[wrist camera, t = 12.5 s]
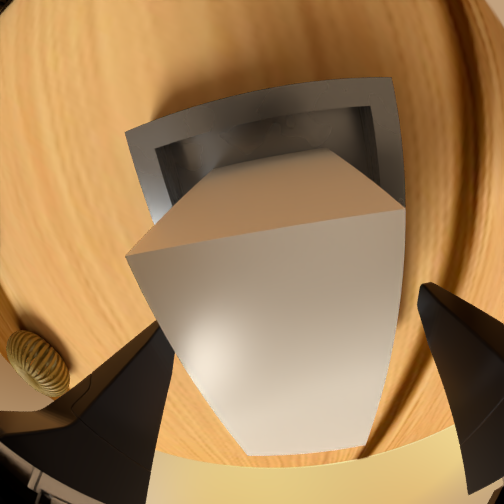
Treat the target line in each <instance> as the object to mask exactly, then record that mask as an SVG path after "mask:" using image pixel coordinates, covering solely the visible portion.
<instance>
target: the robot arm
mask: <svg viewBox="0 0 504 504" xmlns="http://www.w3.org/2000/svg"><path fill="white" fill-rule="evenodd" d="M11 1H12V0H0V14H1V12H2V11H3V10H4V9H5V8H6V7H7V6H8V5H9V4H10V3H11ZM417 307H418V311H419V315H420V318H421V321H422V324H423V328H424V331H425V334H426V338H427V341H428V345H429V347H430V350H431V353H432V355H433V358H434V361H435V363H436V366H437V369H438V372H439V374H440V377H441V380H442V383H443V386H444V389H445V392H446V395H447V399H448V402H449V405H450V409H451V412H452V416H453V419H454V423H455V427H456V431H457V435H458V439H459V444H460V449H461V454H462V459H463V464H464V469H465V475H466V483H467V490H468V494H469V495H470V494H472V493H474V492H476V491H478V490H480V489H482V488H484V487H486V486H488V485H490V484H492V483H494V482H495V481H497V480H499V479H500V478H503V484H504V324H503V323H502V322H500V321H498V320H497V319H495V318H493V317H492V316H490V315H488V314H487V313H485V312H483V311H482V310H480V309H478V308H477V307H475V306H473V305H472V304H470V303H468V302H466V301H465V300H463V299H461V298H459V297H458V296H456V295H454V294H452V293H451V292H449V291H447V290H445V289H443V288H441V287H440V286H438V285H436V284H434V283H432V282H429V283H424V284H422V285H421V286H420V290H419V296H418V302H417ZM174 354H175V351H174V350H173V348H172V346H171V345H170V343H169V341H168V339H167V338H166V336H165V334H164V332H163V331H162V329H161V327H160V325H159V323H158V322H157V320H156V321H154V322H153V323H152V324H151V325H150V326H148V327H147V328H146V329H145V330H143V331H142V332H141V333H140V334H138V335H137V336H136V337H135V338H134V339H132V340H131V341H130V342H129V343H127V344H126V345H125V346H124V347H123V348H121V349H120V350H119V351H118V352H116V353H115V354H114V355H113V356H112V357H110V358H109V359H108V360H107V361H105V362H104V363H103V364H102V365H101V366H99V367H98V368H97V369H96V370H94V371H93V372H92V374H90V375H88V376H87V377H86V378H85V379H84V380H82V381H81V382H80V383H78V384H77V385H76V386H75V387H73V388H72V389H71V390H69V391H68V392H66V393H65V394H64V395H62V396H61V397H59V398H58V399H56V400H55V401H54V402H52V403H51V404H49V405H48V406H47V407H45V408H43V409H41V410H38V411H32V412H18V411H0V504H145V503H146V497H147V491H148V485H149V480H150V475H151V468H152V462H153V458H154V453H155V448H156V443H157V438H158V433H159V429H160V424H161V419H162V415H163V410H164V406H165V402H166V397H167V393H168V389H169V385H170V380H171V376H172V370H173V362H174ZM488 504H504V485H503V486H501V487H500V488H498V489H496V490H495V491H494V492H493V494H492V496H491V498H490V500H489V502H488Z"/></svg>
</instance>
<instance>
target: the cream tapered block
mask: <svg viewBox="0 0 504 504" xmlns="http://www.w3.org/2000/svg"><path fill="white" fill-rule="evenodd" d="M405 226H406V209H405V208H404V207H403V206H402V205H401V204H400V203H398V202H397V201H396V200H395V199H394V198H393V197H391V196H390V195H389V194H388V193H387V192H385V191H384V190H383V189H382V188H380V187H379V186H378V185H377V184H375V183H374V182H373V181H372V180H370V179H369V178H368V177H366V176H365V175H364V174H363V173H361V172H360V171H359V170H357V169H356V168H355V167H353V166H352V165H350V164H349V163H348V162H346V161H345V160H344V159H342V158H341V157H339V156H338V155H336V154H335V153H334V152H332V151H331V150H329V149H328V148H320V149H313V150H307V151H300V152H294V153H288V154H283V155H277V156H272V157H266V158H261V159H256V160H251V161H246V162H242V163H237V164H233V165H228V166H224V167H220V168H215V169H212V170H211V171H210V172H209V173H208V174H207V175H206V176H205V177H204V178H202V179H201V180H200V181H199V182H198V183H197V184H196V185H195V186H194V187H193V188H192V189H191V190H190V191H188V192H187V193H186V194H185V195H184V196H183V197H182V198H181V199H180V200H179V201H178V202H177V203H176V204H175V205H174V206H173V207H172V208H171V209H170V210H169V211H168V212H167V213H166V214H165V215H164V216H163V217H162V218H161V219H160V220H159V221H158V222H157V223H156V224H155V225H154V226H153V227H152V228H151V229H150V230H149V231H148V232H147V233H146V234H145V235H144V236H143V237H142V238H141V239H140V240H139V242H138V243H137V244H136V245H135V246H134V247H133V248H132V249H131V250H130V251H129V252H128V253H127V255H126V256H125V257H126V259H127V261H128V263H129V266H130V268H131V270H132V272H133V274H134V276H135V278H136V281H137V283H138V285H139V287H140V289H141V291H142V293H143V295H144V297H145V299H146V301H147V303H148V305H149V307H150V308H151V310H152V312H153V314H154V316H155V318H156V320H157V322H158V323H159V325H160V327H161V329H162V331H163V332H164V334H165V336H166V338H167V339H168V341H169V343H170V345H171V346H172V348H173V350H174V351H175V353H176V355H177V356H178V358H179V360H180V361H181V363H182V364H183V366H184V368H185V369H186V371H187V372H188V374H189V376H190V377H191V379H192V380H193V382H194V383H195V385H196V386H197V388H198V389H199V391H200V392H201V394H202V395H203V397H204V398H205V400H206V401H207V402H208V404H209V405H210V407H211V408H212V410H213V411H214V412H215V414H216V415H217V417H218V418H219V419H220V421H221V422H222V423H223V425H224V426H225V427H226V429H227V430H228V431H229V433H230V434H231V435H232V436H233V438H234V439H235V440H236V442H237V443H238V444H239V445H240V447H241V448H242V449H243V450H244V451H245V453H246V454H247V455H248V456H270V455H293V454H306V453H316V452H325V451H332V450H339V449H345V448H351V447H357V446H362V445H366V442H367V439H368V436H369V433H370V430H371V428H372V425H373V421H374V418H375V415H376V412H377V409H378V405H379V402H380V398H381V395H382V391H383V387H384V383H385V379H386V375H387V371H388V367H389V362H390V358H391V353H392V348H393V343H394V337H395V332H396V326H397V320H398V313H399V306H400V298H401V289H402V279H403V268H404V253H405Z"/></svg>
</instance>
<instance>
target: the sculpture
mask: <svg viewBox="0 0 504 504" xmlns="http://www.w3.org/2000/svg"><path fill="white" fill-rule="evenodd" d="M19 346H21V347H19ZM49 347H50V344H49V343H47V342H46V341H45V340H43V339H42V338H41V337H39V336H38V335H36V334H35V333H32V332H29V331H26V330H20V331H17V332H14V333H13V334H12V335H11V336H10V337H9V339H8V342H7V346H6V348H7V349H6V351H7V356H8V359H9V361H10V363H11V365H12V367H13V368H14V369H15V371H16V372H17V373H18V374H19V375H20V377H21V378H22V379H23V380H24V381H26V383H28V384H29V385H30V386H31V387H32V388H34V389H35V390H37V391H38V392H40V393H42V394H44V395H46V396H50V397H57V396H61V395H62V394H64V393H65V392H66V391H67V389H68V387H69V384H70V383H69V382H70V375H69V371H68V368H67V366H66V364H65V362H64V361H63V359H62V358H61V356H60V355H59V354H58V353H57V352H56V350H54V348H52V346H51V347H50V348H49ZM25 348H26V349H25ZM23 349H24V350H23ZM31 350H32V351H31ZM29 351H30V352H29ZM22 355H23V357H22ZM35 357H36V359H35V360H34V362H33V363H32V365H31V366H30V363H31V361H32V360H33V359H34V358H35ZM27 358H28V359H27ZM26 359H27V362H26ZM46 364H47V366H46ZM29 366H30V367H29ZM45 367H46V368H45ZM44 369H45V370H44ZM49 369H50V372H49ZM40 370H41V371H40ZM39 371H40V373H39V375H37V373H38V372H39ZM48 372H49V374H48ZM42 377H43V378H42ZM52 377H53V379H51V378H52ZM57 380H58V381H57ZM55 382H56V383H55Z"/></svg>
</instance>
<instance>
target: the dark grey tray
mask: <svg viewBox="0 0 504 504" xmlns="http://www.w3.org/2000/svg"><path fill="white" fill-rule="evenodd" d="M125 135H126V139H127V142H128V146H129V149H130V153H131V156H132V159H133V163H134V166H135V169H136V172H137V175H138V179H139V182H140V185H141V188H142V191H143V194H144V197H145V200H146V203H147V206H148V208H149V211H150V214H151V217H152V220H153V222H154V225H155V224H156V223H157V222H158V221H159V220H160V219H161V218H162V217H163V216H164V215H165V214H166V213H167V212H168V211H169V210H170V209H171V208H172V207H173V206H174V205H175V204H176V203H177V202H178V201H179V200H180V199H181V198H182V197H183V196H184V195H185V194H186V193H187V192H188V191H190V190H191V189H192V188H193V187H194V186H195V185H196V184H197V183H198V182H199V181H200V180H201V179H202V178H204V177H205V176H206V175H207V174H208V173H209V172H210V171H211V170H212V169H215V168H220V167H224V166H228V165H233V164H237V163H242V162H246V161H251V160H256V159H261V158H266V157H272V156H277V155H283V154H288V153H294V152H300V151H307V150H313V149H320V148H328V149H329V150H331V151H332V152H334V153H335V154H336V155H338V156H339V157H341V158H342V159H344V160H345V161H346V162H348V163H349V164H350V165H352V166H353V167H355V168H356V169H357V170H359V171H360V172H361V173H363V174H364V175H365V176H366V177H368V178H369V179H370V180H372V181H373V182H374V183H375V184H377V185H378V186H379V187H380V188H382V189H383V190H384V191H385V192H387V193H388V194H389V195H390V196H391V197H393V198H394V199H395V200H396V201H397V202H398V203H400V204H401V205H402V206H403V207H404V208H405V177H404V161H403V150H402V140H401V131H400V123H399V116H398V110H397V104H396V98H395V92H394V87H393V82H392V77H368V78H347V79H333V80H323V81H314V82H306V83H298V84H291V85H285V86H279V87H273V88H268V89H263V90H258V91H253V92H248V93H244V94H239V95H235V96H231V97H227V98H223V99H219V100H216V101H212V102H208V103H205V104H201V105H198V106H195V107H192V108H188V109H185V110H182V111H179V112H176V113H173V114H170V115H167V116H165V117H162V118H159V119H156V120H154V121H151V122H148V123H146V124H143V125H141V126H138V127H136V128H133V129H131V130H129V131H126V132H125Z"/></svg>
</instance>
